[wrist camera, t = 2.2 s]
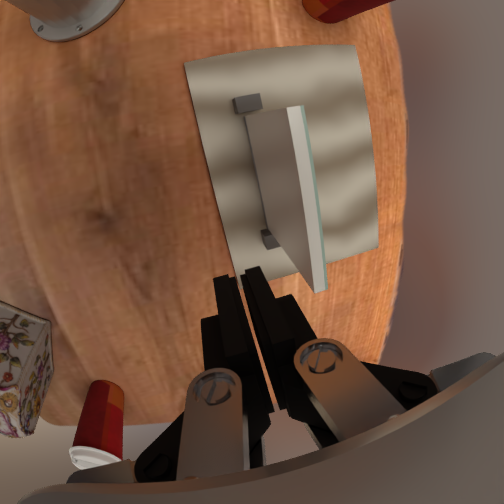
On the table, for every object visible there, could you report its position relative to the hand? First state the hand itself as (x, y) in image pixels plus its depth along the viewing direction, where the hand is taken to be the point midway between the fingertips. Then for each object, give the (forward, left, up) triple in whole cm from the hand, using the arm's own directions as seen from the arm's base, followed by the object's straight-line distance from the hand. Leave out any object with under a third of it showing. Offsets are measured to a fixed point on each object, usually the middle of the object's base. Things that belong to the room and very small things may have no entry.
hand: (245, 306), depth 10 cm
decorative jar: (+13, -35, -23) cm, 43 cm away
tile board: (0, +10, -22) cm, 24 cm away
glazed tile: (0, +5, -20) cm, 21 cm away
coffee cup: (+27, -26, -23) cm, 43 cm away
